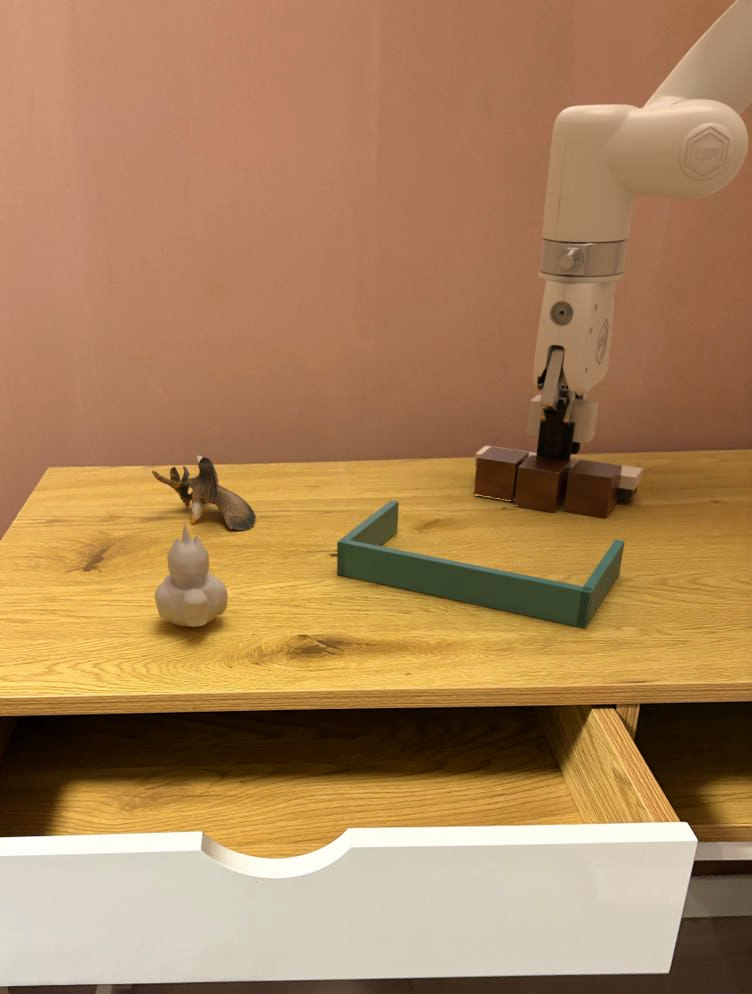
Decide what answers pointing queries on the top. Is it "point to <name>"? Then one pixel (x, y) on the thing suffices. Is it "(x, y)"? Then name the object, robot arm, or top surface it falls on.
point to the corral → (471, 575)
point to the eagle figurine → (209, 495)
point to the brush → (581, 439)
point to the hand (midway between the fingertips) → (557, 454)
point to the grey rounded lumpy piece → (190, 585)
